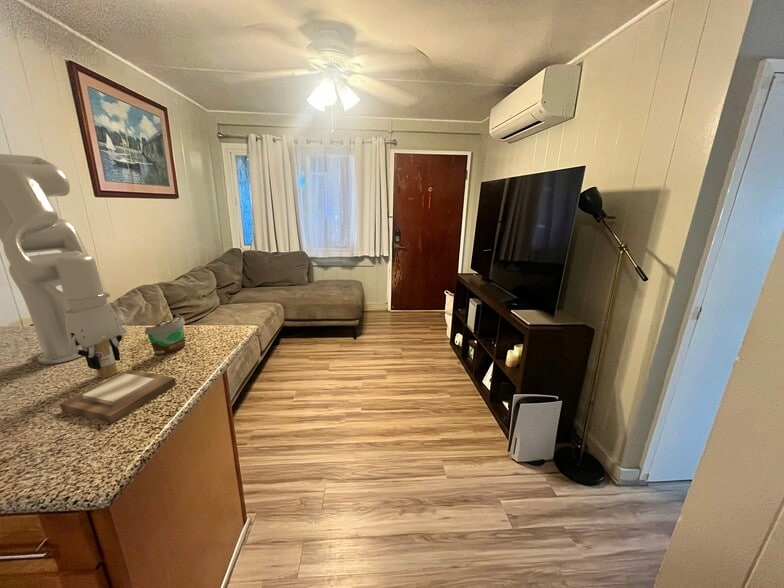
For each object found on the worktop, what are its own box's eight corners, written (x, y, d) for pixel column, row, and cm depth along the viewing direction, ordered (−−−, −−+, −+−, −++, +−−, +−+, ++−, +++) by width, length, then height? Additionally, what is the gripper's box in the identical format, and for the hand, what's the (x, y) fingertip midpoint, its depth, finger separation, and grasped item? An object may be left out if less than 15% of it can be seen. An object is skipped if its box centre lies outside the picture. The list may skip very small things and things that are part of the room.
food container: (167, 359, 99) (160, 329, 96) (151, 357, 101) (143, 327, 98) (198, 342, 111) (192, 314, 108) (183, 340, 112) (177, 313, 109)
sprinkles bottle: (96, 380, 88) (82, 335, 84) (99, 372, 92) (86, 329, 88) (117, 375, 91) (105, 331, 87) (120, 368, 94) (108, 325, 90)
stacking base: (62, 411, 76) (58, 400, 75) (131, 375, 91) (128, 366, 90) (112, 423, 72) (108, 412, 71) (176, 384, 86) (173, 374, 86)
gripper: (111, 292, 94) (126, 349, 99) (36, 311, 78) (59, 378, 84) (130, 294, 92) (145, 352, 97) (58, 314, 76) (80, 382, 82)
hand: (105, 363), depth 90 cm, fingers closed on sprinkles bottle, 4 cm apart
